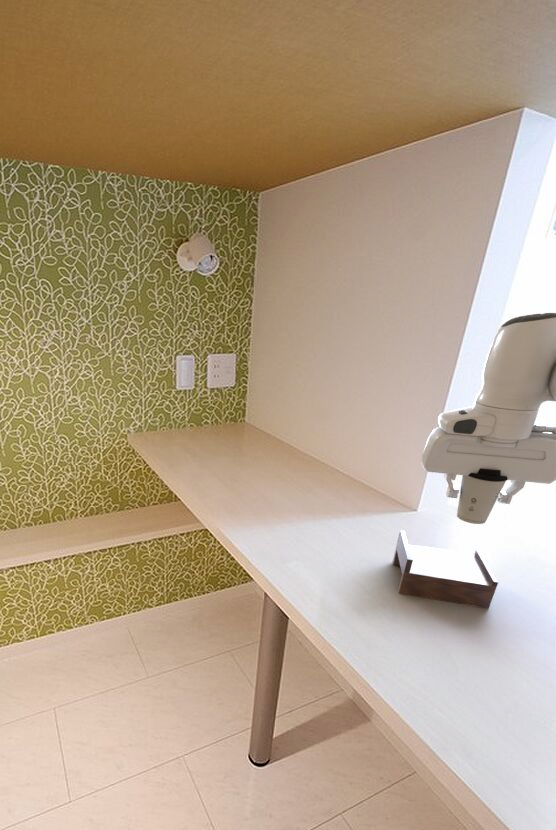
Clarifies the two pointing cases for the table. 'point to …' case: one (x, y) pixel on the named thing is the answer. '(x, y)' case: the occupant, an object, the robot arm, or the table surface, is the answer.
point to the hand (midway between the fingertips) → (476, 499)
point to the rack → (444, 574)
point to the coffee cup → (479, 495)
